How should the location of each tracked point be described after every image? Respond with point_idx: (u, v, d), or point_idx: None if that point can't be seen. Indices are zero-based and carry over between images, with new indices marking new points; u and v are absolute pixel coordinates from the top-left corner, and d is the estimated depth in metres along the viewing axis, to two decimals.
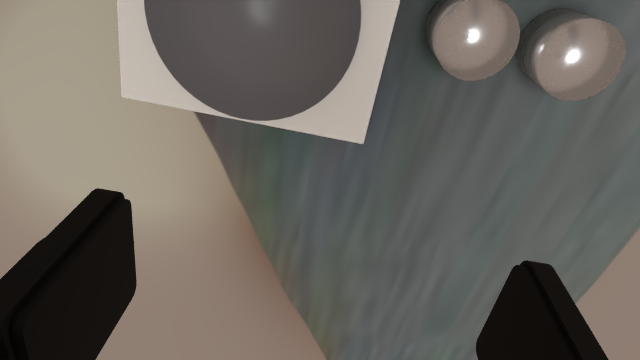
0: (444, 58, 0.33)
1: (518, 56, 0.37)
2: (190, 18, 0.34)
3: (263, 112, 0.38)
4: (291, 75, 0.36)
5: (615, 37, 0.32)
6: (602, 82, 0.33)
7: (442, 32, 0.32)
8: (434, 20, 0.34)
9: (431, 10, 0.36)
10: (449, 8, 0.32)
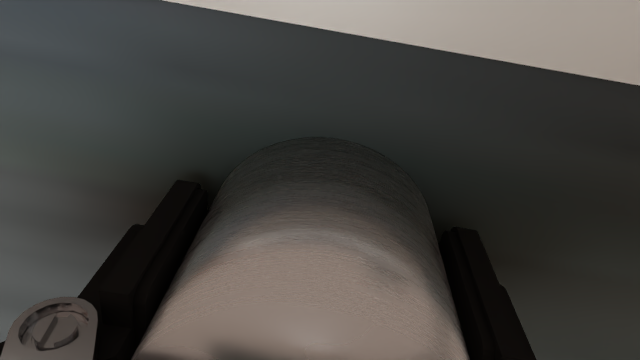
0: (198, 345, 0.06)
1: None
2: None
3: None
4: None
5: None
6: None
7: (330, 331, 0.06)
8: (359, 210, 0.08)
9: (371, 152, 0.10)
10: (431, 304, 0.07)
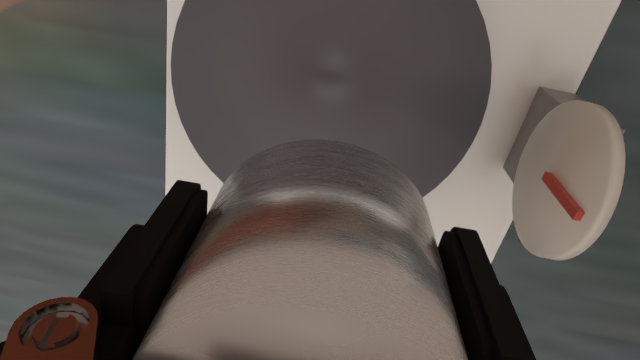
0: (198, 346, 0.06)
1: None
2: None
3: (188, 99, 0.24)
4: (250, 143, 0.25)
5: None
6: None
7: (329, 332, 0.06)
8: (358, 213, 0.08)
9: (371, 154, 0.10)
10: (430, 306, 0.07)
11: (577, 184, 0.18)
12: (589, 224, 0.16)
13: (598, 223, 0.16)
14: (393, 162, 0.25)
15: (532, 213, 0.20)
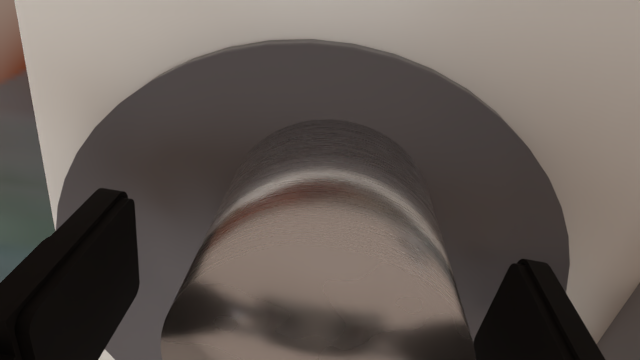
0: (234, 282, 0.07)
1: None
2: None
3: None
4: None
5: None
6: None
7: (345, 268, 0.07)
8: (366, 178, 0.09)
9: (376, 133, 0.12)
10: (428, 253, 0.08)
11: None
12: None
13: None
14: None
15: None
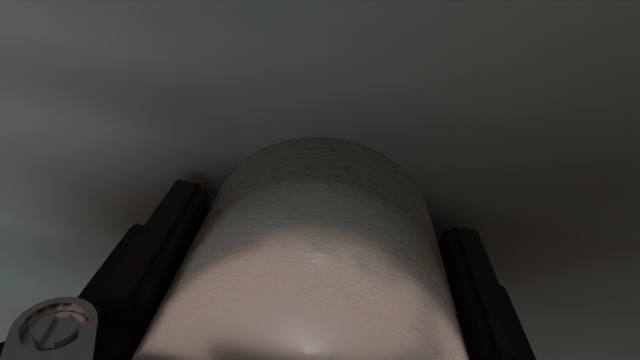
0: None
1: (280, 156, 0.10)
2: None
3: None
4: None
5: None
6: None
7: None
8: None
9: None
10: None
11: None
12: None
13: None
14: None
15: None
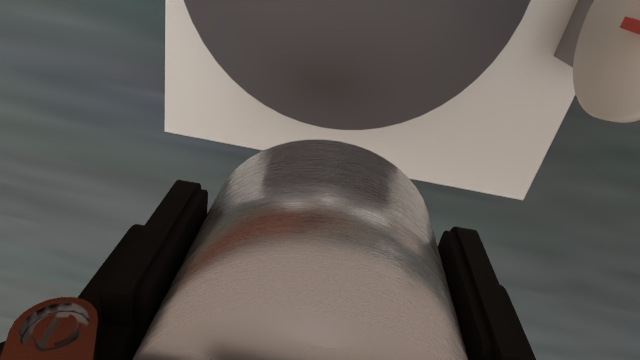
0: None
1: (280, 158, 0.10)
2: None
3: None
4: (263, 25, 0.22)
5: None
6: None
7: None
8: None
9: None
10: None
11: None
12: None
13: None
14: (428, 47, 0.22)
15: (605, 76, 0.17)
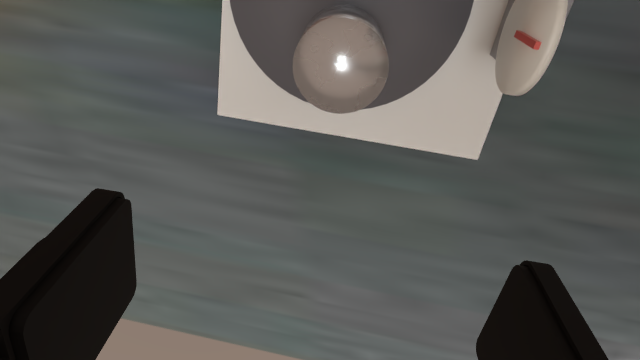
0: None
1: (330, 8, 0.30)
2: None
3: (240, 1, 0.31)
4: (289, 38, 0.32)
5: (368, 97, 0.28)
6: (317, 98, 0.28)
7: None
8: None
9: None
10: None
11: (537, 28, 0.24)
12: (544, 48, 0.23)
13: (550, 47, 0.23)
14: (402, 50, 0.32)
15: (508, 67, 0.27)
